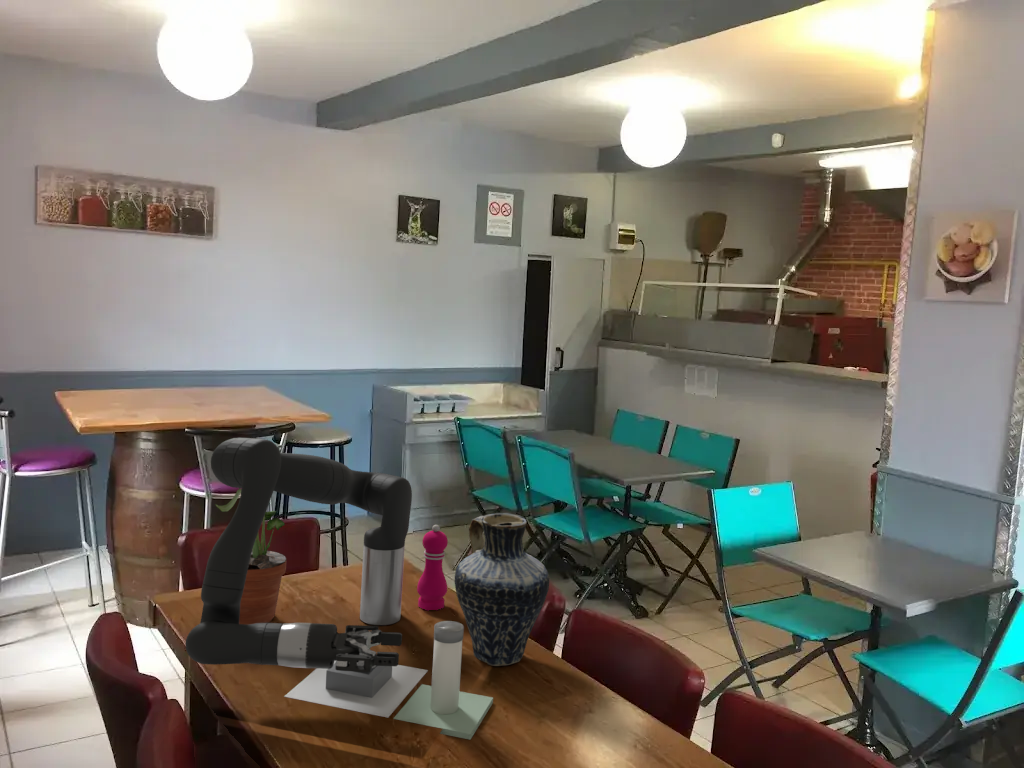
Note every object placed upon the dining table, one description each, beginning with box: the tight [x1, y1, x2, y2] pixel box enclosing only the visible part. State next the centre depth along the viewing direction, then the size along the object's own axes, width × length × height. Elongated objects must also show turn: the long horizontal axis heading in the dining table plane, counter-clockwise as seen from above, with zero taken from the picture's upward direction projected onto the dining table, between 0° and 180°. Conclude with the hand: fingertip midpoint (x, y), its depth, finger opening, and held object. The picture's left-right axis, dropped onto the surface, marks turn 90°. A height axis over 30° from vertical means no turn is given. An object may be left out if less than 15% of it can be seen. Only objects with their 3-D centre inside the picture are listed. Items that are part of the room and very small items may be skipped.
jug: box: [454, 512, 550, 667], centre depth 173 cm, size 21×19×30 cm
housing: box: [283, 655, 429, 718], centre depth 157 cm, size 20×20×4 cm
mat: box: [393, 683, 494, 740], centre depth 150 cm, size 14×14×1 cm
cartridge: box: [430, 620, 465, 714], centre depth 149 cm, size 5×5×15 cm
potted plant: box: [215, 488, 287, 624], centre depth 186 cm, size 16×15×35 cm
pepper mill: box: [416, 524, 449, 611], centre depth 200 cm, size 7×7×20 cm
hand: (400, 649), depth 148 cm, fingers open, 8 cm apart
